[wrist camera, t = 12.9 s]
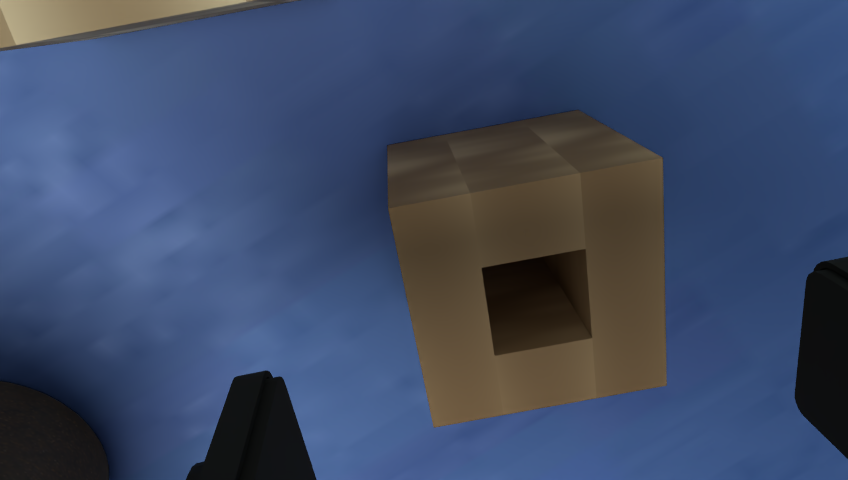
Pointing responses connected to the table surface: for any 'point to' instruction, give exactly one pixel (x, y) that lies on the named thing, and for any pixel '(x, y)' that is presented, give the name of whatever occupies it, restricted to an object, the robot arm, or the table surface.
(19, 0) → the go block
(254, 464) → the robot arm
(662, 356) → the block
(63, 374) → the table surface
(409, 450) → the table surface
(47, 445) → the plant pot
